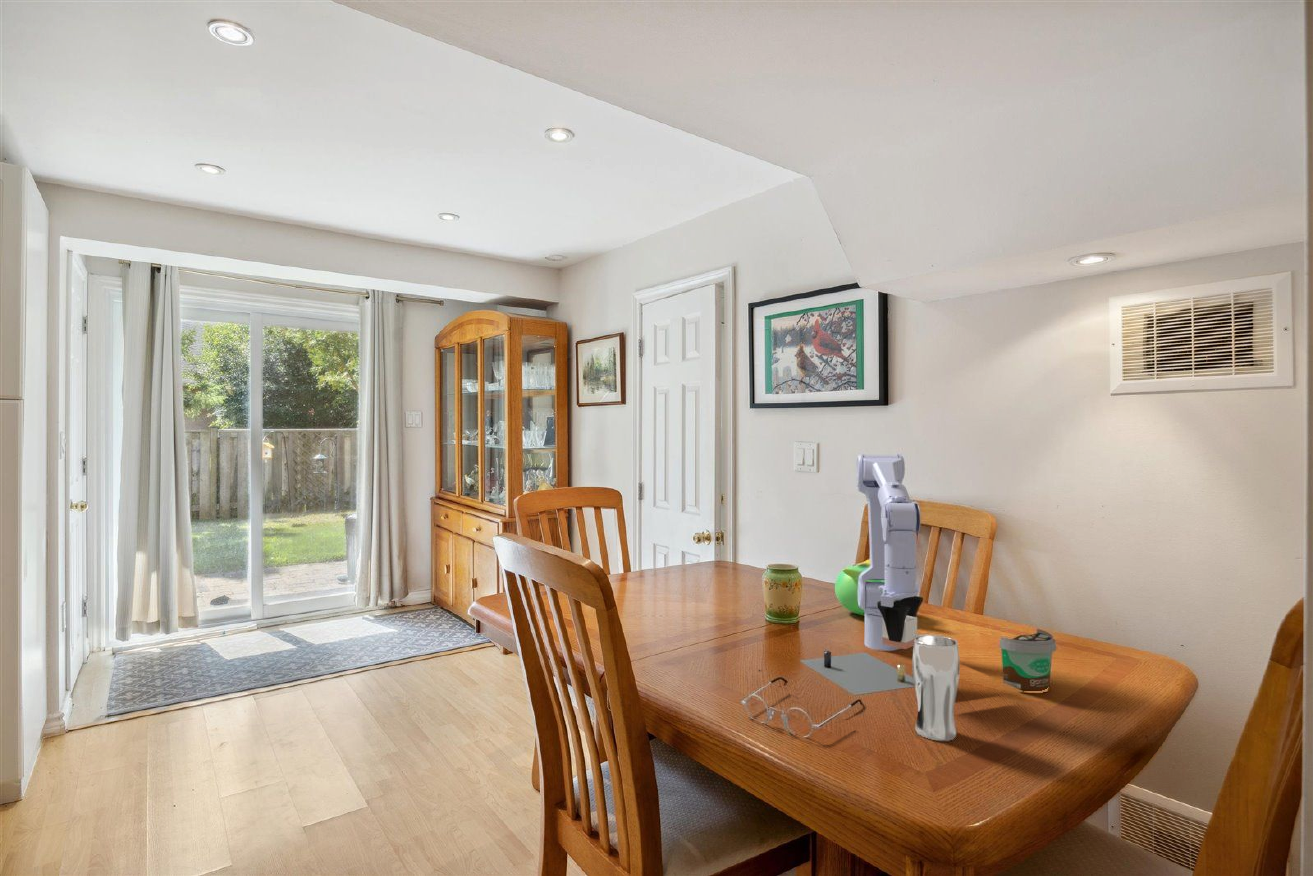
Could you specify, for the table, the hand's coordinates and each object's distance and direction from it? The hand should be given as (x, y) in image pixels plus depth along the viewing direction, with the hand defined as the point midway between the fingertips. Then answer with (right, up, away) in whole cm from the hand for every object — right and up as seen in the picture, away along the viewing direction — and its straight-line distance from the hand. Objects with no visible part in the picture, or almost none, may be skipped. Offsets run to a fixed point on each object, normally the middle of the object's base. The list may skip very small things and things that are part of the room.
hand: (900, 637), depth 123 cm
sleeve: (0, -1, 0) cm, 1 cm away
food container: (+25, -10, 0) cm, 27 cm away
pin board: (-6, -10, +5) cm, 12 cm away
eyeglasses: (-21, -10, -11) cm, 26 cm away
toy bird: (+11, -10, +51) cm, 53 cm away
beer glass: (-1, -10, -18) cm, 21 cm away
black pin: (-12, -8, +8) cm, 16 cm away
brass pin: (0, -8, 0) cm, 8 cm away
